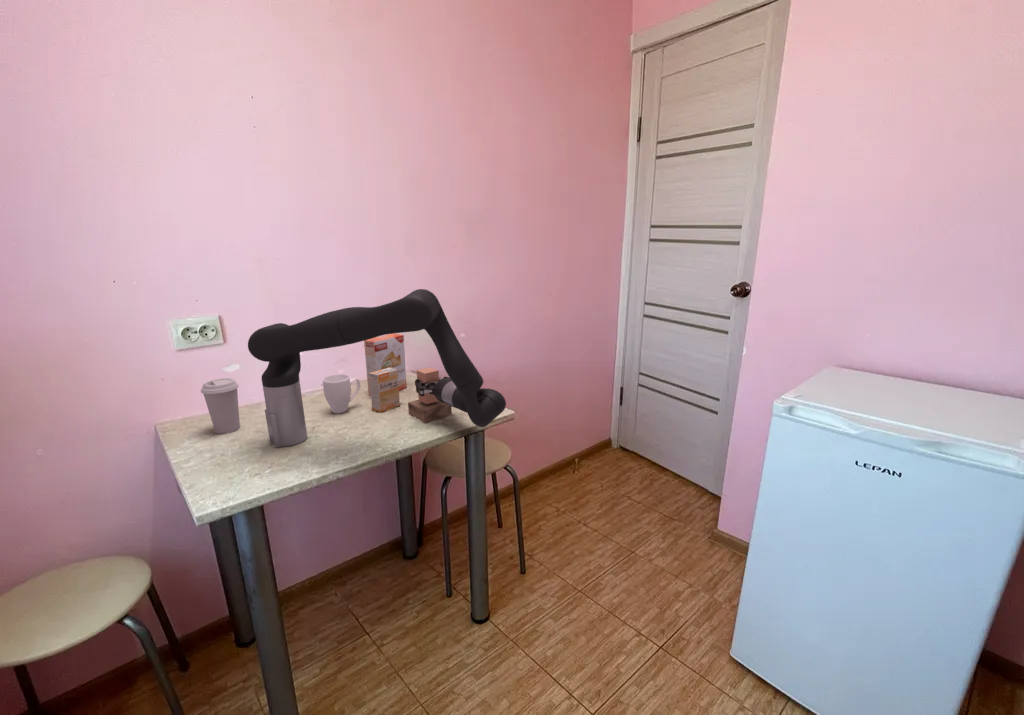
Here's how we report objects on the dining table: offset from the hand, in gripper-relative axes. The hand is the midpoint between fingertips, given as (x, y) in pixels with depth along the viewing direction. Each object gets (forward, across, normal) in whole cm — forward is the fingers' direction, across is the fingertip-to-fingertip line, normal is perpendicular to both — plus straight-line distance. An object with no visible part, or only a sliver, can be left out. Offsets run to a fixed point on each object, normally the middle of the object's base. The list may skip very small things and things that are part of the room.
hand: (424, 380), depth 148 cm
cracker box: (+27, 0, +11) cm, 30 cm away
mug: (+20, +19, +11) cm, 30 cm away
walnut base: (-3, 0, +11) cm, 11 cm away
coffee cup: (+28, +52, +11) cm, 60 cm away
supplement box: (+12, +8, +11) cm, 19 cm away
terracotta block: (-3, 0, +6) cm, 7 cm away
